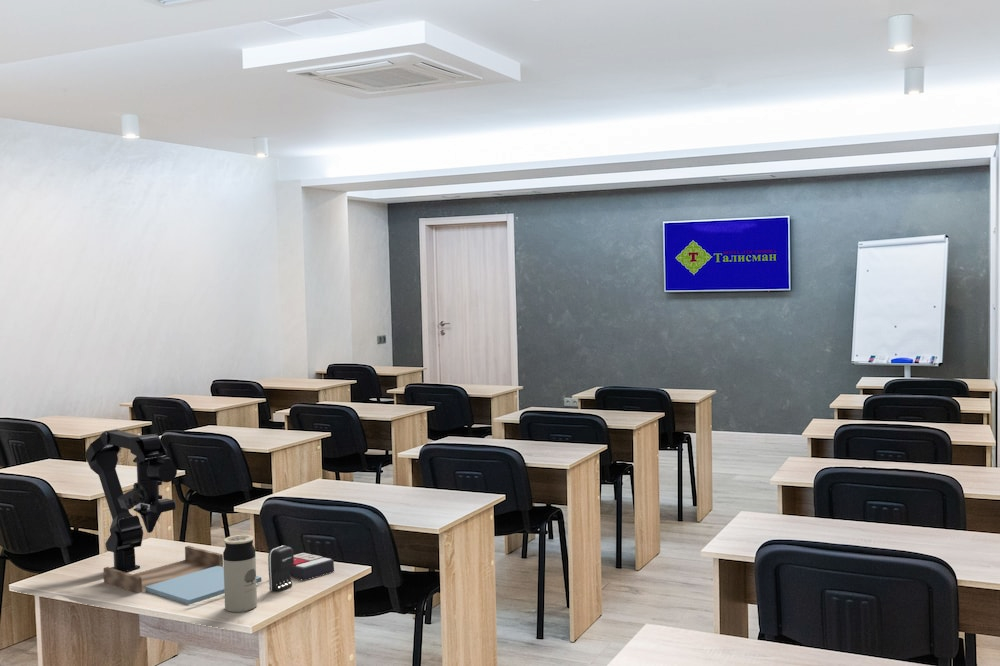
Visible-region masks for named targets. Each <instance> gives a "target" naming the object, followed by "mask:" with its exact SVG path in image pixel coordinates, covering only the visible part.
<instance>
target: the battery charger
mask: <svg viewBox="0 0 1000 666" xmlns="http://www.w3.org/2000/svg"><path fill="white" fill-rule="evenodd" d="M294 555H295V554H294V550H293V548H292V547H291V546H287V545H281V546H277V547H274V548H272V549H271V550H269V552H268V555H267V556H268V559H267V560H268V563H267V564H268V581H269V591H271V592H282V591H284V590H286V589H289V588H291V587H292V586H293V582H292V577H291V576H290V567H291V565H293V564H294Z"/></svg>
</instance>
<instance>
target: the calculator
mask: <svg viewBox="0 0 1000 666" xmlns="http://www.w3.org/2000/svg"><path fill="white" fill-rule="evenodd" d="M293 555H294V564H293V565H291V567H290V577H293V578H294V579H297V578H299V579H298V580H300V579H302V580H301V581H306V580H305V579H307V580H310V579H309V578H311V579H313V578H312V577H314V578H317V577H316V576H318V577H320V575H321V576H324V575H327V574H326V573H328V574H330V573H329V572H331V573H334V572H335V563H334V559H332V558H330V557H329V558H328V557H324V556H321V555H316V554H311V553H307V552H301V553H297V554H293ZM333 571H334V572H333ZM323 574H324V575H323Z"/></svg>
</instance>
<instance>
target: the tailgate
mask: <svg viewBox="0 0 1000 666" xmlns="http://www.w3.org/2000/svg"><path fill="white" fill-rule="evenodd" d="M261 582H262V577H261V576H257V575H256V584H258V583H259V584H260V583H261ZM144 592H147V593H151V594H153V595H157V596H160V597H163V598H166V599H170V600H172V601H176V602H179V603H182V604H186V605H188V606H189V605H193V604H195V603H199V602H202V601H205V600H209V599H211V598H214V597H218V596H222V595H223V594H224V595H225V593H224V566H223V567H221V566H214V567H211V568H207V569H204V570H201V571H197V572H194V573H190V574H187V575H183V576H180V577H176V578H173V579H170V580H166V581H163V582H159V583H156V584H152V585H149V586H145V591H144Z"/></svg>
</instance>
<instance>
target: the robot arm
mask: <svg viewBox="0 0 1000 666" xmlns="http://www.w3.org/2000/svg"><path fill="white" fill-rule="evenodd" d="M122 448H123V449H127V450H129V451H130V454H132V455H134V456H135V457H134V458H133V460H132V462H133V463H136V478H137V479H136V480H137V482H134V483H133V486H132V487H133V488H132V489H131V490H128V491H127V492H125V493H124V491H123V488H122V485H121V483H120V478H119V476H118V472H117V470H116V469H117V468H116V467H117V464H118V461H119V457H118V456H119V455H118V454H119V453H120V452H121V450H122ZM84 454H85V455H84V456H85V460H86V461H87V463H88V466H89V469H90V470H92V471H93V472H94V473H95V474H97V476H98V477H99V480H100V484H101V487H102V490H103V492H104V497H105V500H106V503H107V506H108V508H109V511H110V515H111V518H112V520H111V523H110V524H111V525H110V527H109V532H110V535H109V537H108V538H107V540H106V541H105V548H106V549H105V550H106V551H108V552H112V553H113V566H111V567H110V568H113V569H116V570H119V571H123V572H126V573H127V572H130V571H132V570H137V569H140V568H141V565H137V564H136V551H135V548H138V547H141V546H142V543H143V538H144V530H143V526H142V525H141V521H140V517H141V519H142V522H143V524H144V527H145V531H146V532H147V533H148V534H149V533H151V534H152V533H153V531H154V529H155V527H156V525H157V522H158V520H159V518H160V516H161V515H162V513H165V512H166V513H167V512H169V511H174V510H177V502H176V501H175V500H174V499H171V498H163V495H162V494H160V486H161V485H163V483H169V482H170V483H171V482H173V480H175V478H176V476H177V474H178V468H177V466H176V465H175V463H173V462H172V461H171V458H170V457H169V454H168V451H167V449H166V447H165V446H164V444H163V441H162V439H161V438H160V436H159V435H158V434H157V433H154V434H153V433H151V434H143V435H142V434H141V435H139V434H134V433H130V432H125V431H121V430H120V429H112V430H105V431H103V432H102V433H101V434H100V436H99V437H98V438H96V439H95V440H93V441H92V442H91V443H90V444H89V445H88V447H87V449H86V450H85V453H84ZM134 507H135V508H134ZM130 510H133V511H134V512H136V513H138V514H139V515H140V517H139V516H138V515H137V514H136V515H133V514H132V513H130Z"/></svg>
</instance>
